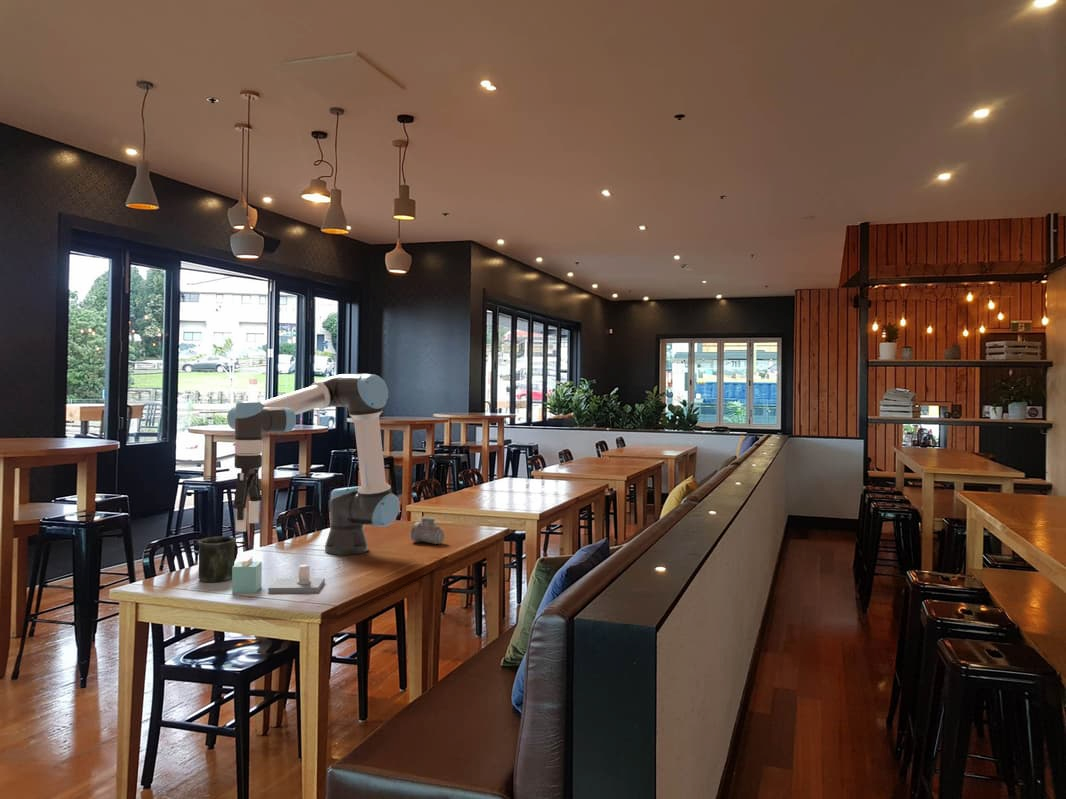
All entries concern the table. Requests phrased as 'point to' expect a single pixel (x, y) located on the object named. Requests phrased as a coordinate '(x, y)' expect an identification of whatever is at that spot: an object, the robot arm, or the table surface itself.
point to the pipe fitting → (427, 531)
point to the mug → (216, 558)
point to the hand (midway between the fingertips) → (247, 527)
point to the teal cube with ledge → (246, 576)
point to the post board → (298, 583)
